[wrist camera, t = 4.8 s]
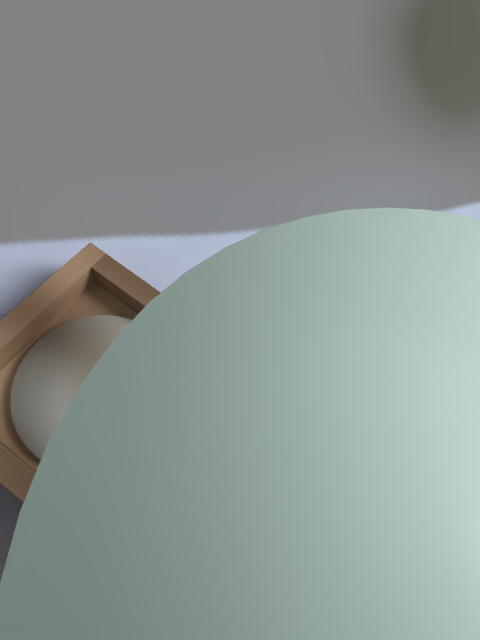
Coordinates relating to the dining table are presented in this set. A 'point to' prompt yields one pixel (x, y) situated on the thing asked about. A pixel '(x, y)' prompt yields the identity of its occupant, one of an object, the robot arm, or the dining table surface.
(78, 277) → the tray
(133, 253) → the dining table surface
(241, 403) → the pale green rounded part
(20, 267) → the dining table surface
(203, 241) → the dining table surface
